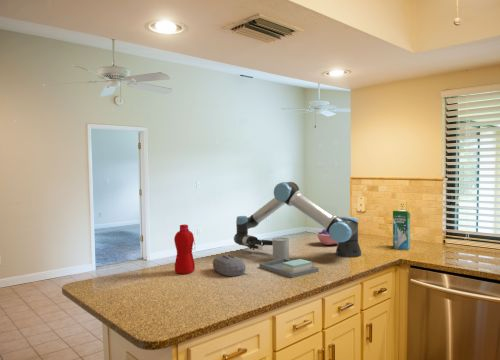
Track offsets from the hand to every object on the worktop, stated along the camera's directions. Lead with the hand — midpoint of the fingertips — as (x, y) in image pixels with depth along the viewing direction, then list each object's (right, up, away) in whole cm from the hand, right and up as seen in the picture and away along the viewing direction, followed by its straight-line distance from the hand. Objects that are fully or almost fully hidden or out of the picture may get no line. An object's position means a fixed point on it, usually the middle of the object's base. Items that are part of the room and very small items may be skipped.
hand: (270, 246), depth 229 cm
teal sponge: (+11, -6, -38) cm, 40 cm away
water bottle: (-46, -8, -31) cm, 56 cm away
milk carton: (+87, -5, +20) cm, 90 cm away
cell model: (+43, -5, +35) cm, 56 cm away
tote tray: (+7, -7, -32) cm, 34 cm away
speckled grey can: (+5, -7, -7) cm, 11 cm away
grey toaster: (-23, -8, -32) cm, 40 cm away
